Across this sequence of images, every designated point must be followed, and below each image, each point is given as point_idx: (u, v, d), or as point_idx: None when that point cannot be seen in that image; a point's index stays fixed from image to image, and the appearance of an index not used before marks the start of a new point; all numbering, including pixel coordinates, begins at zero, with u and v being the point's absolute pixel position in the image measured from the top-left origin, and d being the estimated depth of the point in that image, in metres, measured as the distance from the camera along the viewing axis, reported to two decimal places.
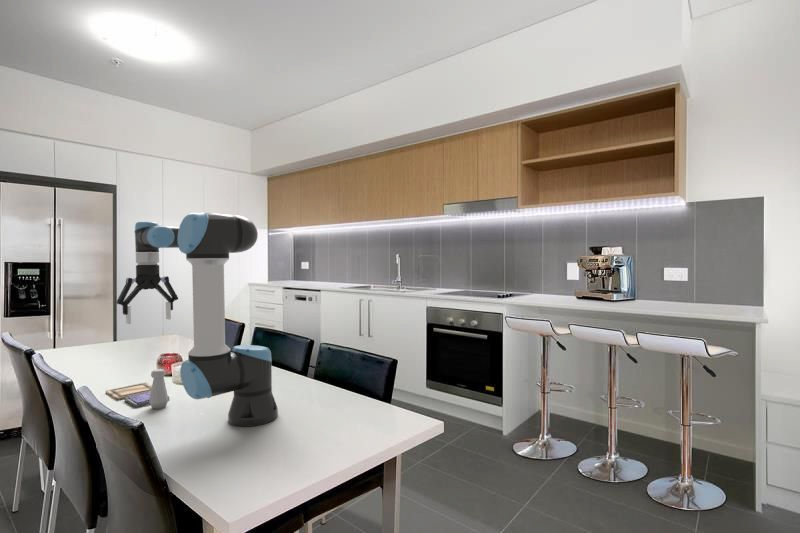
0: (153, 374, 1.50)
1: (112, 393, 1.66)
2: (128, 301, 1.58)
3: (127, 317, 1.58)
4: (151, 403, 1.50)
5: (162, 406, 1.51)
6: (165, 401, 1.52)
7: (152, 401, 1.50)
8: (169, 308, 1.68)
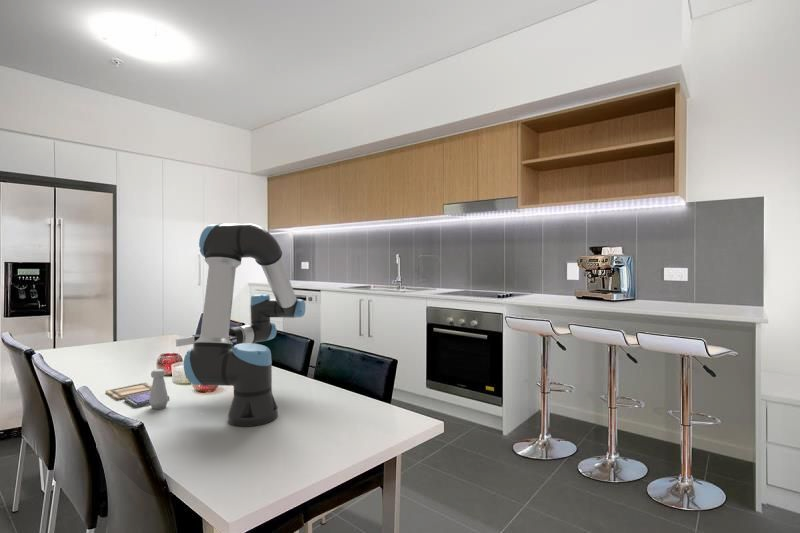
0: (153, 374, 1.50)
1: (112, 393, 1.66)
2: (197, 336, 1.69)
3: None
4: (151, 403, 1.50)
5: (162, 406, 1.51)
6: (165, 401, 1.52)
7: (152, 401, 1.50)
8: None
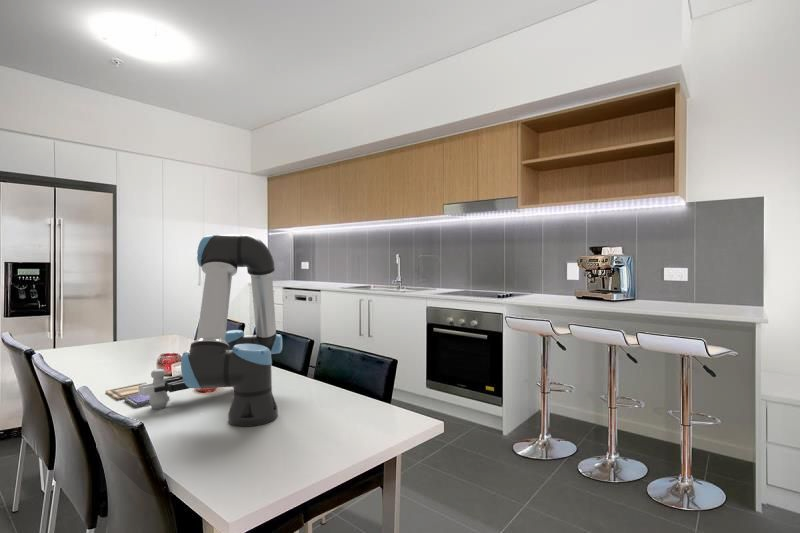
0: (153, 374, 1.50)
1: (112, 393, 1.66)
2: (164, 380, 1.56)
3: None
4: (151, 403, 1.50)
5: (162, 406, 1.51)
6: (165, 401, 1.52)
7: (152, 401, 1.50)
8: (156, 385, 1.50)
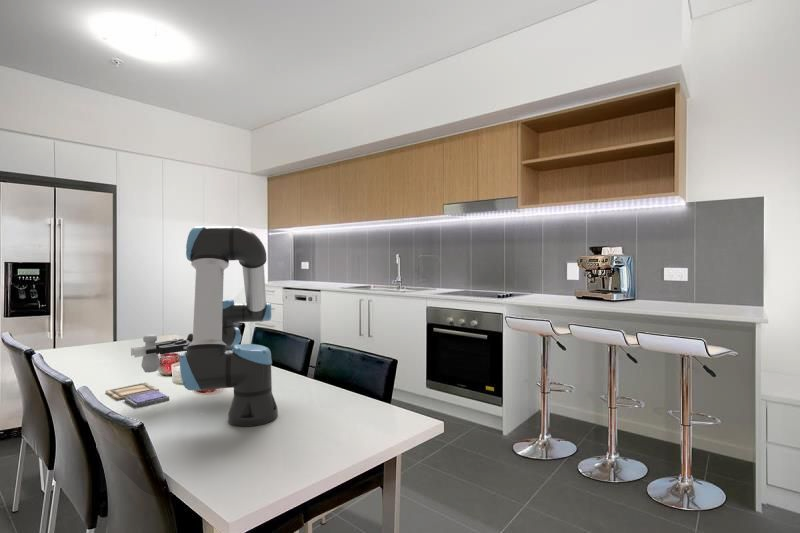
0: (145, 339, 1.57)
1: (112, 393, 1.66)
2: None
3: None
4: (143, 367, 1.56)
5: (154, 369, 1.58)
6: (157, 365, 1.58)
7: (144, 364, 1.56)
8: (147, 347, 1.57)
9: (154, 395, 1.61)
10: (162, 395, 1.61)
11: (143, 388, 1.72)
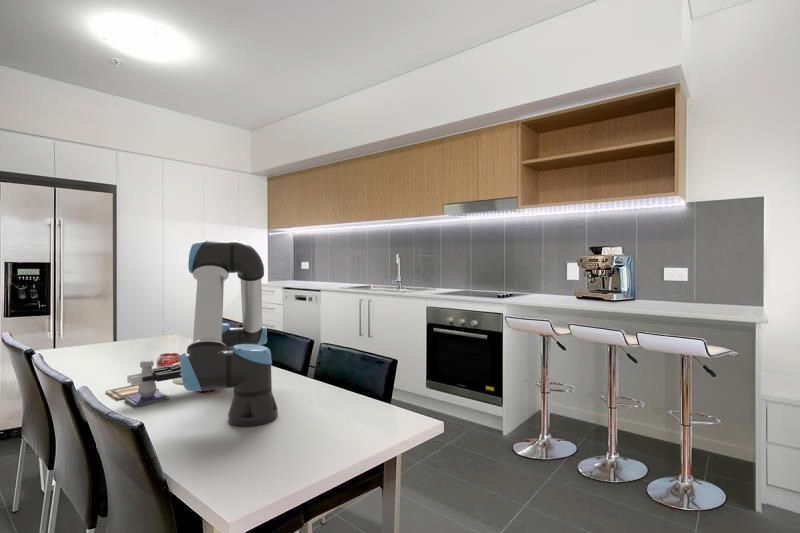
0: (142, 364, 1.58)
1: (112, 393, 1.66)
2: None
3: None
4: (140, 392, 1.57)
5: (151, 395, 1.59)
6: (154, 390, 1.60)
7: (141, 390, 1.57)
8: None
9: (154, 395, 1.61)
10: (162, 395, 1.61)
11: None
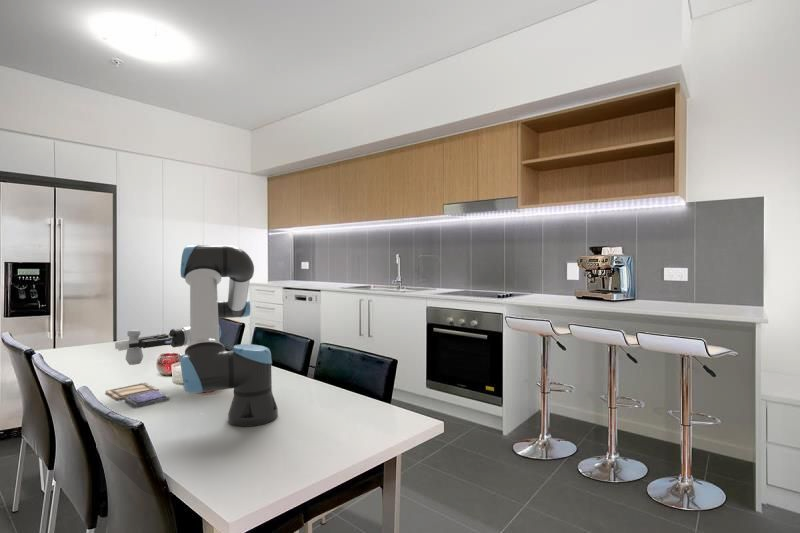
0: (129, 333, 1.67)
1: (112, 393, 1.66)
2: (139, 338, 1.73)
3: None
4: (128, 359, 1.67)
5: (138, 362, 1.69)
6: (141, 357, 1.69)
7: (128, 357, 1.67)
8: (131, 341, 1.67)
9: (154, 395, 1.61)
10: (162, 395, 1.61)
11: (143, 388, 1.72)
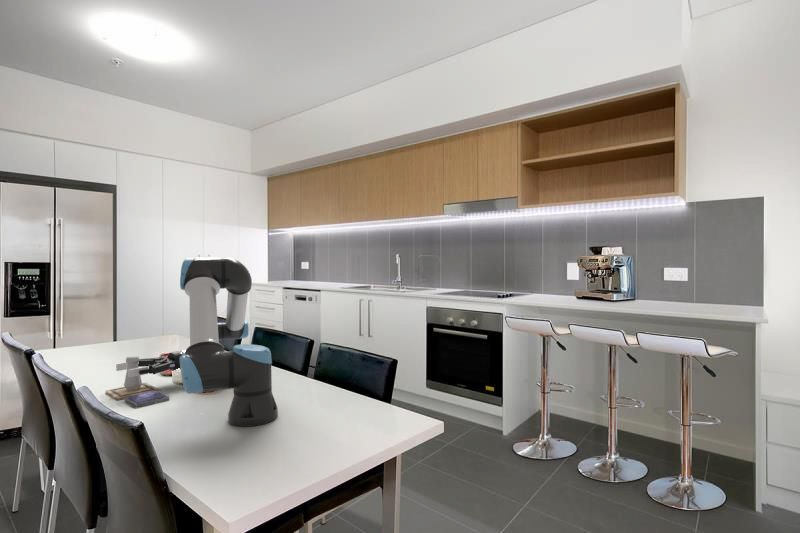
0: (128, 360, 1.68)
1: (112, 393, 1.66)
2: (139, 360, 1.78)
3: None
4: (126, 386, 1.67)
5: (137, 388, 1.69)
6: (139, 384, 1.70)
7: (127, 384, 1.67)
8: (141, 367, 1.66)
9: (154, 395, 1.61)
10: (162, 395, 1.61)
11: (143, 388, 1.72)
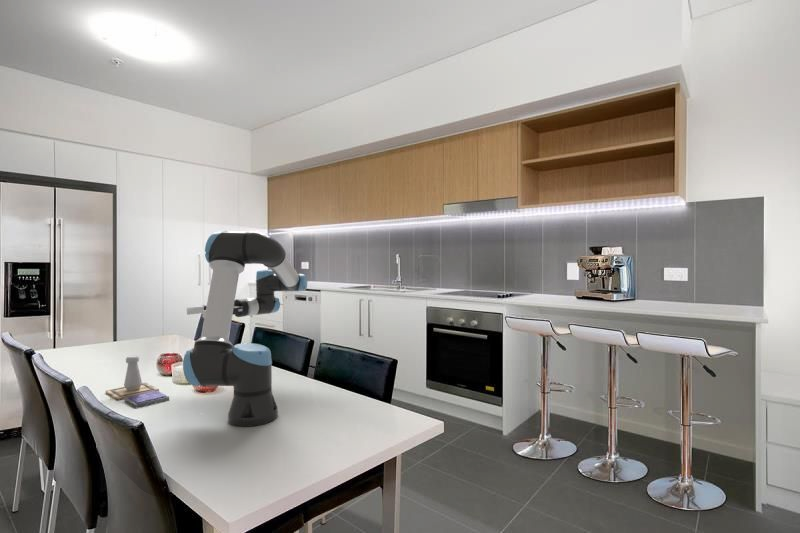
0: (128, 360, 1.68)
1: (112, 393, 1.66)
2: (206, 306, 1.83)
3: None
4: (126, 386, 1.67)
5: (137, 388, 1.69)
6: (139, 384, 1.70)
7: (127, 384, 1.67)
8: None
9: (154, 395, 1.61)
10: (162, 395, 1.61)
11: (143, 388, 1.72)
